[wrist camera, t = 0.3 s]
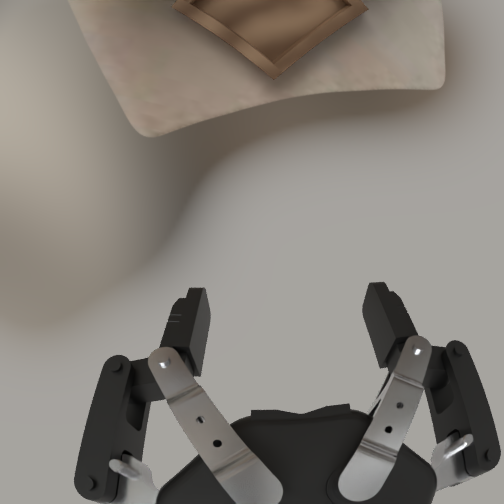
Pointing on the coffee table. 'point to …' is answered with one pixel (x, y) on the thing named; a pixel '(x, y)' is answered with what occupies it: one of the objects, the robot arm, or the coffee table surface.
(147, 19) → the coffee table surface
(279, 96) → the coffee table surface
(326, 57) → the coffee table surface
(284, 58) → the tray
